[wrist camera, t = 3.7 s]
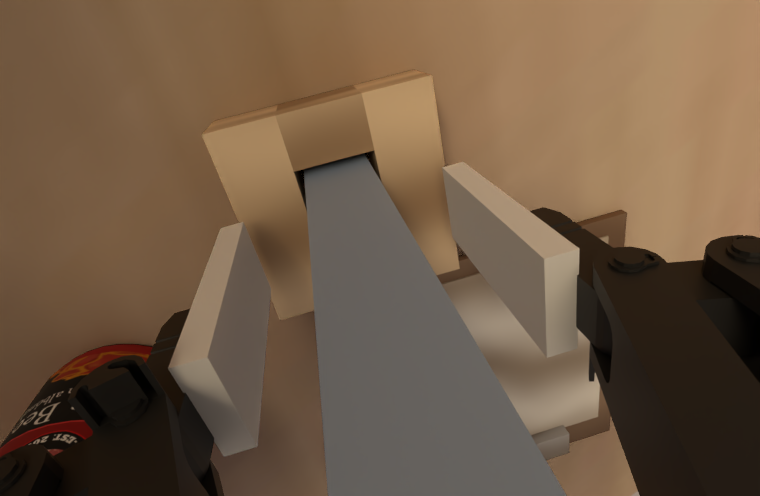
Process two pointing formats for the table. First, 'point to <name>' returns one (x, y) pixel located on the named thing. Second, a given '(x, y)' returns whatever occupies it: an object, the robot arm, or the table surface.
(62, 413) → the canned food
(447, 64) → the table surface
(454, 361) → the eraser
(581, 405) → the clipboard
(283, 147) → the pen stand
